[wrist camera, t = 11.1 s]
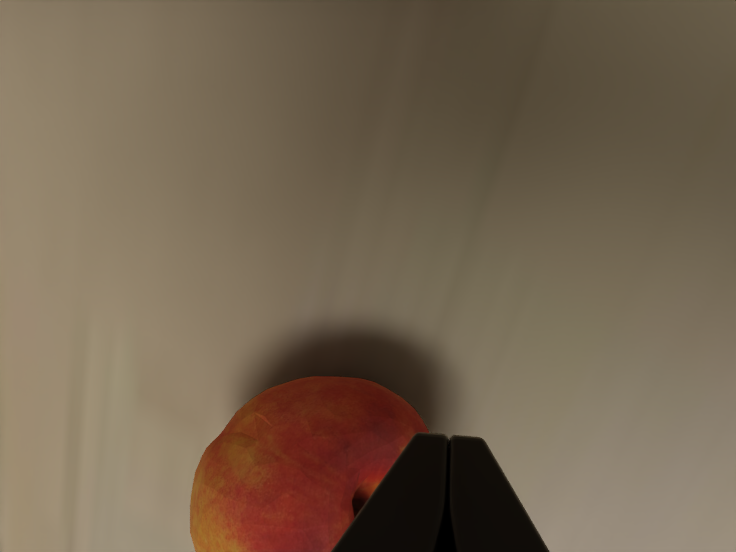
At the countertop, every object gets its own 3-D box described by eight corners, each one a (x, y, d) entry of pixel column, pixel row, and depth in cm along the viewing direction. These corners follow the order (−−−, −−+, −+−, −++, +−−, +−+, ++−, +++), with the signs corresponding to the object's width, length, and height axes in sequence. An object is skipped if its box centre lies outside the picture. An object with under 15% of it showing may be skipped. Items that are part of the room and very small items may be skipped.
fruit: (460, 491, 25) (456, 711, 18) (265, 499, 26) (191, 701, 19) (428, 319, 21) (408, 506, 14) (206, 341, 23) (91, 517, 16)
